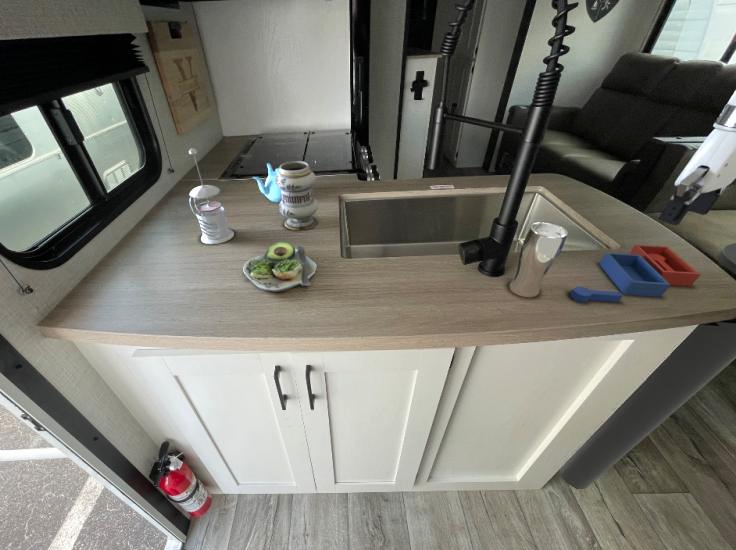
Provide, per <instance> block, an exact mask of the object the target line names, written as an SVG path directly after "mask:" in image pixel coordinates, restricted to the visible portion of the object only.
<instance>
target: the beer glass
mask: <svg viewBox="0 0 736 550" xmlns="http://www.w3.org/2000/svg"><path fill="white" fill-rule="evenodd" d="M568 235H569V233H568V230H567V229H566V228H564V227H563V226H561V225H558V224H555V223H551V222H541V221H540V222H534V223H533V224H531V226H530V227H529V229H528V232H527V234H526V236H525V238H524V240H523V242H522V246H521V249H520V252H519V257H518V264H517V270H516V273H515V275H514V277H513V279H512V280H511V281H510V283H509V285H508V286H509V289H510V291H511V292H512V293H513V294H515V295H517V296H520V297H524V298H535V297H537V296H538V295H539V293H540V289H541V286H542V285H541V284H542V282H543V280H544V278H545V277H546V276H547V274H548V272H549V271H550V270H551V269H552V267H553V266H554V264H555V263H556V261H557V260H558V258H559V256H560V254H561V253H562V250H563V248H564V245H565V242H566V239H567V237H568Z"/></svg>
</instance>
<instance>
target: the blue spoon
mask: <svg viewBox="0 0 736 550" xmlns="http://www.w3.org/2000/svg"><path fill="white" fill-rule="evenodd" d="M569 296H570V298H571V299H572V300H574V301H576V302H579V303H587V302H588V301H598V302H610V303H619V302H620V301H621V299H622V298H623V293H622V292H621V291H611V290H597V289H596V290H595V289H589V288H588V287H584V286H579V285H578V286H574V287H573V289H572V290H571V293H570V295H569Z"/></svg>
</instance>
